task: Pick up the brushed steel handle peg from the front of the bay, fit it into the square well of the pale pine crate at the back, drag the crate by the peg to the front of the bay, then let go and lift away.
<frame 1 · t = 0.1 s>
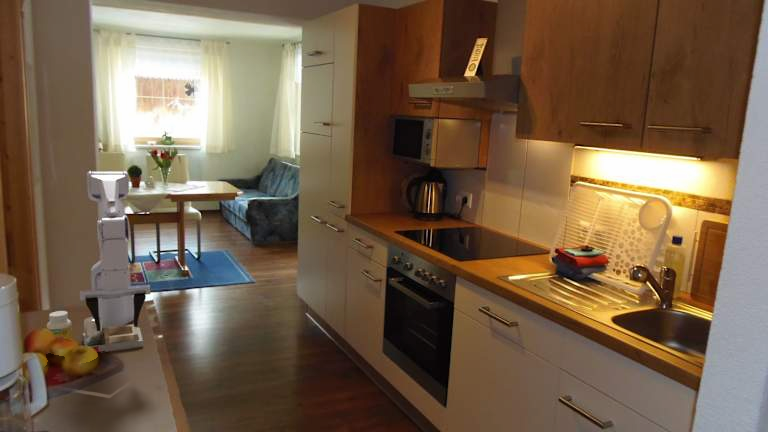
hand: (117, 328, 129), 11 cm above the worktop, tool pointing down, fingers open, 7 cm apart
supplement bottle: (60, 350, 140), on the worktop
bay: (112, 345, 144), on the worktop
handle peg: (94, 345, 142), point 1 cm above the worktop, touching bay
crate: (120, 336, 145), point 2 cm above the worktop, slide at 0.0 cm
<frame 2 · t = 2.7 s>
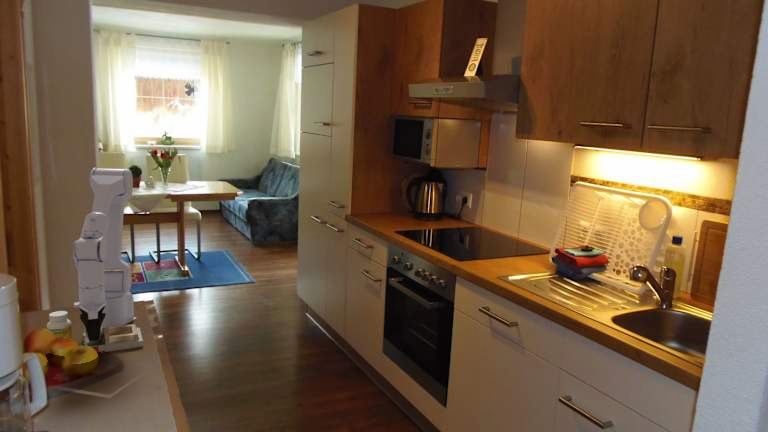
hand: (93, 336, 142), 3 cm above the worktop, tool pointing down, fingers closed on handle peg, 4 cm apart
handle peg: (94, 345, 142), point 1 cm above the worktop, touching bay, gripper
everything else where it was.
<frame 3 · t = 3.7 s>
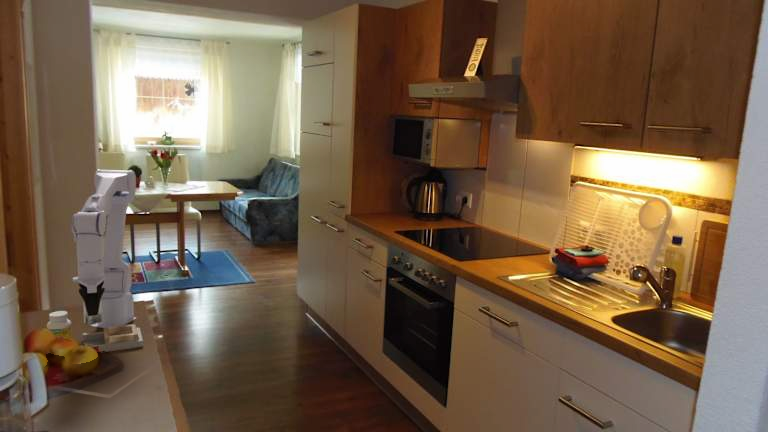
hand: (92, 312, 141), 10 cm above the worktop, tool pointing down, fingers closed on handle peg, 4 cm apart
handle peg: (93, 321, 141), point 7 cm above the worktop, touching gripper
everything else where it was.
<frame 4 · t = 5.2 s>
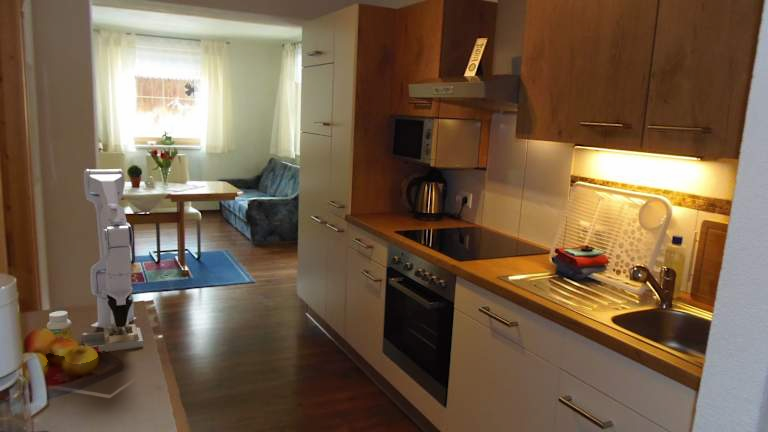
hand: (120, 323, 144), 6 cm above the worktop, tool pointing down, fingers closed on handle peg, 4 cm apart
handle peg: (120, 332, 145), point 3 cm above the worktop, touching gripper
everything else where it was.
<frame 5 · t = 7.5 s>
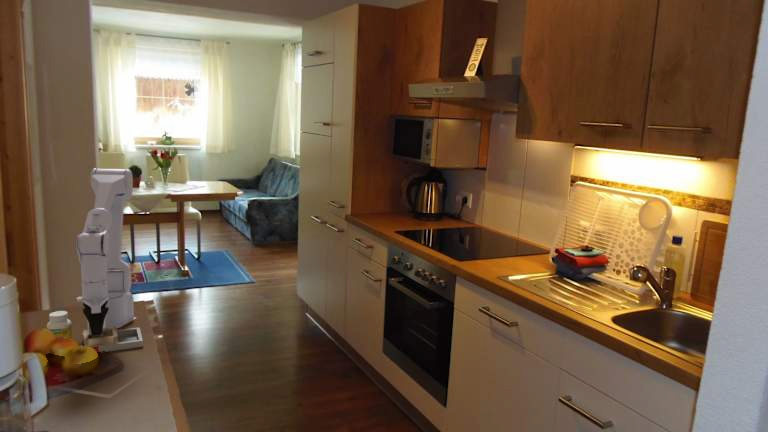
hand: (96, 331, 142), 4 cm above the worktop, tool pointing down, fingers closed on handle peg, 4 cm apart
handle peg: (97, 340, 142), point 2 cm above the worktop, touching gripper
crate: (100, 338, 143), point 2 cm above the worktop, slide at 4.7 cm
everything else where it was.
when the fingers open (4 cm above the worktop, at t = 7.7 s): handle peg stays where it is, resting on crate.
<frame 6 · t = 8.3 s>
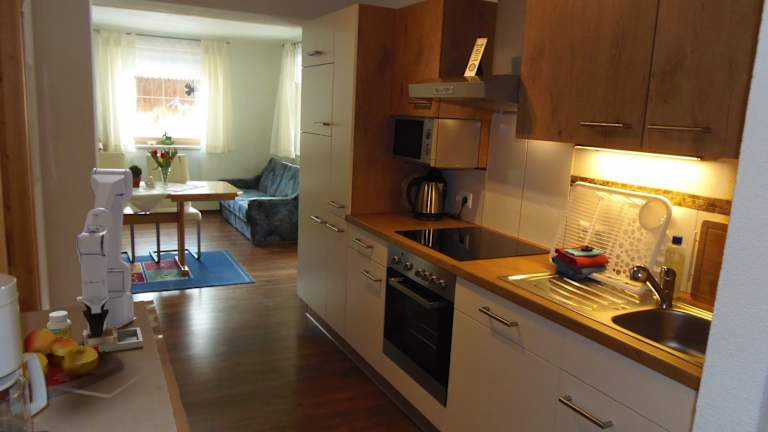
hand: (96, 331, 142), 4 cm above the worktop, tool pointing down, fingers open, 7 cm apart
handle peg: (97, 341, 142), point 2 cm above the worktop, touching crate
crate: (100, 338, 143), point 2 cm above the worktop, slide at 4.7 cm, touching handle peg
everything else where it was.
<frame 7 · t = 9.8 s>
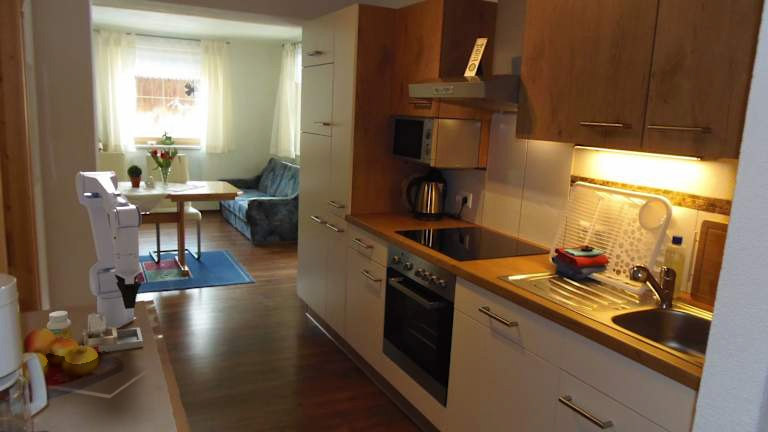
hand: (128, 303, 145), 10 cm above the worktop, tool pointing down, fingers open, 7 cm apart
nothing on the worktop moved.
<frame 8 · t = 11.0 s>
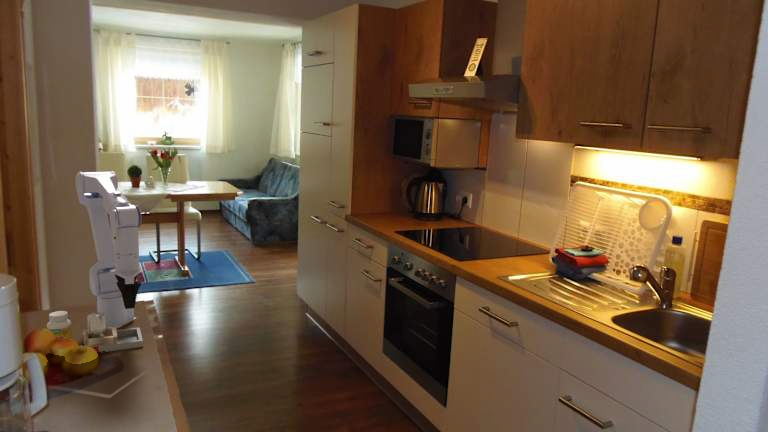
hand: (128, 303, 145), 10 cm above the worktop, tool pointing down, fingers open, 7 cm apart
nothing on the worktop moved.
at the end: crate slide at 4.7 cm; handle peg 0.1 cm from the target spot, point 1.7 cm above the worktop; handle peg tilted 0° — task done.
